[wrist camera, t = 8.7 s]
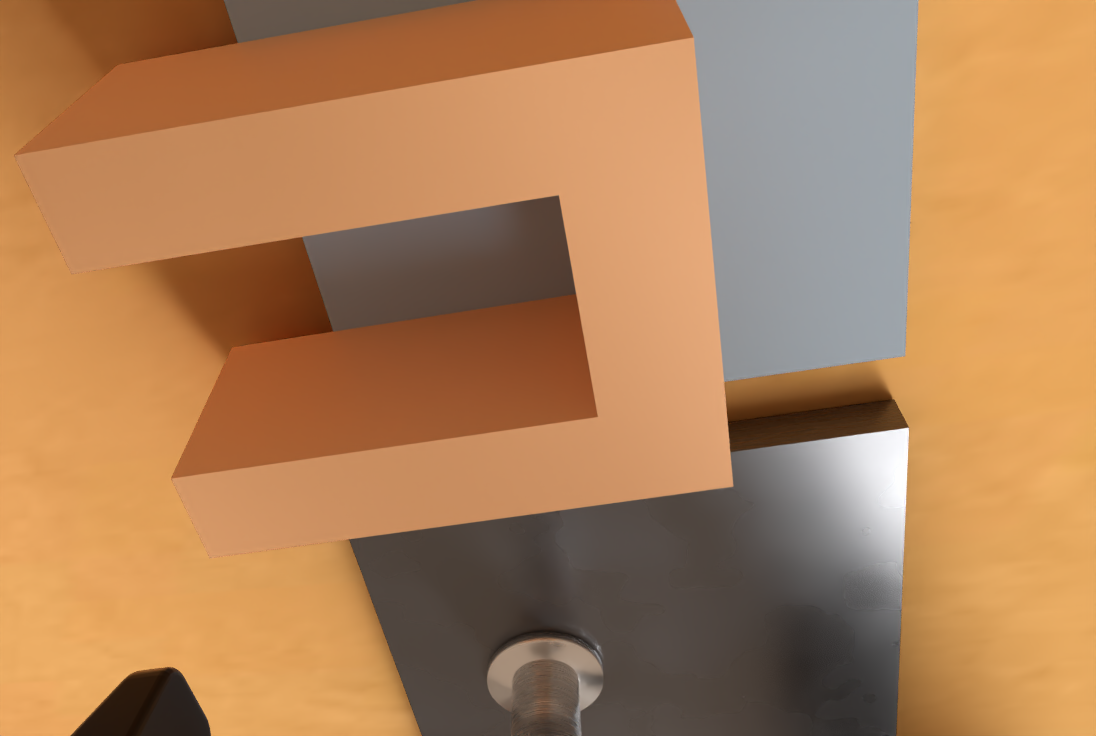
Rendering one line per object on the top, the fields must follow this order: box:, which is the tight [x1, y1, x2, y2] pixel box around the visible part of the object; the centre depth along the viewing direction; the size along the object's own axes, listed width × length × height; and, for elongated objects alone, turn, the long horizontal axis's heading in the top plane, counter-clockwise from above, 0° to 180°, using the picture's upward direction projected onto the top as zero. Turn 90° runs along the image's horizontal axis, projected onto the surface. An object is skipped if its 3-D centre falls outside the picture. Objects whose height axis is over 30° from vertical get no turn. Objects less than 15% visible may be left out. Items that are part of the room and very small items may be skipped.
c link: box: [14, 0, 733, 558], centre depth 17 cm, size 7×9×4 cm
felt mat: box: [224, 0, 918, 382], centre depth 18 cm, size 9×11×1 cm
